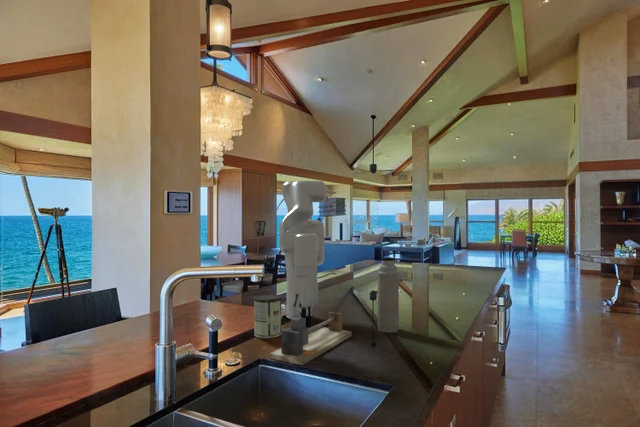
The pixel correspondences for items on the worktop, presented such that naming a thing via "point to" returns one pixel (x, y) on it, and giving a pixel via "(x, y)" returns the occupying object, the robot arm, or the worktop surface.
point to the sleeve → (300, 327)
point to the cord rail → (310, 341)
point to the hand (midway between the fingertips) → (305, 327)
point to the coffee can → (267, 316)
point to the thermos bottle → (388, 296)
